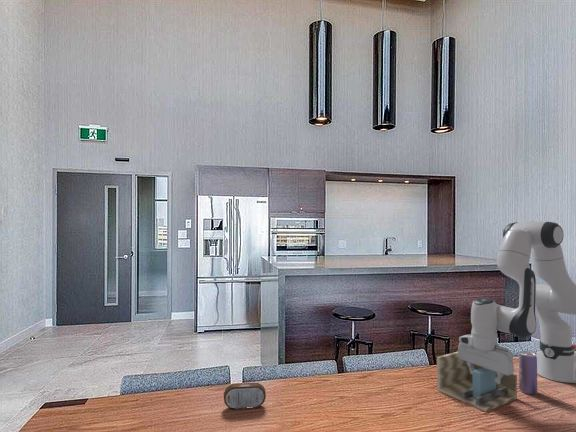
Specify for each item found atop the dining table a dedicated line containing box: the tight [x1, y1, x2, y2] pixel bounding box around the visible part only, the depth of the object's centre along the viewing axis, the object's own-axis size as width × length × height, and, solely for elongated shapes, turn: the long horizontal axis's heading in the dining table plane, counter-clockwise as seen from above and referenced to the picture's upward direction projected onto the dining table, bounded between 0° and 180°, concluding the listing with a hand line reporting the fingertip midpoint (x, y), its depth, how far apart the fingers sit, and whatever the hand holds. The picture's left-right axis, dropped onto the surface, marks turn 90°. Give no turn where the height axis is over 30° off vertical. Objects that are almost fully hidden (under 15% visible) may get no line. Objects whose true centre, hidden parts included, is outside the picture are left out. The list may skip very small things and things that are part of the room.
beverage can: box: [518, 350, 538, 396], centre depth 146 cm, size 6×6×15 cm
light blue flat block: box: [472, 367, 496, 399], centre depth 139 cm, size 10×3×10 cm, turn 120°
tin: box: [223, 382, 267, 409], centre depth 132 cm, size 15×3×8 cm, turn 98°
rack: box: [436, 350, 518, 413], centre depth 143 cm, size 20×20×13 cm
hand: (484, 378), depth 140 cm, fingers open, 8 cm apart
